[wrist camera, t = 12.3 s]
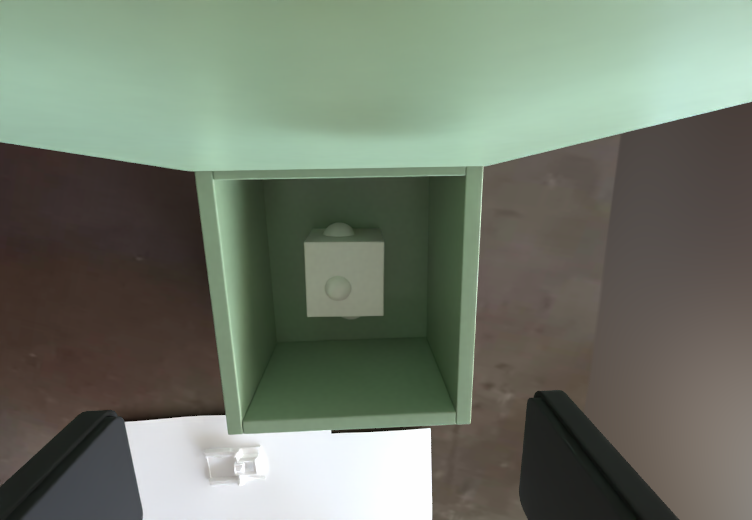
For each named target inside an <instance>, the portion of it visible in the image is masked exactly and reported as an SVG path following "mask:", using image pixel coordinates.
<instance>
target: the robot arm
mask: <svg viewBox="0 0 752 520" xmlns="http://www.w3.org/2000/svg"><path fill="white" fill-rule="evenodd" d="M519 496H520V501H521V505H522V508H523V510H524V512H525V514H526V516H527V518H528V520H679V519H678V518H677V517H676V516H675V515H674V513H673V512H672V511H671V510H670V509H669V508H668V507H667V506H666V504H665V503H664V502H663V501H662V500H661V499H660V498H659V497H658V496H657V494H656V493H655V492H654V491H653V490H652V489H651V488H650V487H649V486H648V484H647V483H646V482H645V481H644V480H643V479H642V478H641V477H640V476H639V475H638V473H637V472H636V471H635V470H634V469H633V468H632V467H631V466H630V464H629V463H628V462H627V461H626V460H625V459H624V458H623V457H622V456H621V454H620V453H619V452H618V451H617V450H616V449H615V448H614V447H613V446H612V444H610V442H609V441H608V440H607V439H606V438H605V437H604V436H603V434H602V433H601V432H600V431H599V430H598V429H597V428H596V427H595V426H594V424H593V423H592V422H591V421H590V420H589V419H588V418H587V417H586V415H585V414H584V413H583V412H582V411H581V410H580V409H579V408H578V407H577V405H576V404H575V403H574V402H573V401H572V400H571V399H570V398H569V397H568V395H567V394H566V393H565V392H563V391H561V390H553V391H537V392H536V393H535V395H534V398H529V399H528V402H527V410H526V421H525V432H524V443H523V454H522V464H521V475H520V486H519ZM142 519H143V509H142V504H141V499H140V495H139V490H138V485H137V480H136V475H135V470H134V466H133V461H132V456H131V451H130V446H129V441H128V437H127V432H126V427H125V422H124V419H123V418H122V417H118V416H117V414H116V413H115V411H112V410H103V411H86V412H82V413H81V414H79V415H78V416H77V417H76V418H75V419H74V420H73V421H71V422H70V423H69V424H68V425H67V426H66V427H65V428H64V429H63V430H62V431H61V432H60V433H58V434H57V435H56V436H55V437H54V438H53V439H52V440H51V441H50V442H49V443H48V444H46V445H45V446H44V447H43V448H42V449H41V450H40V451H39V452H38V453H37V454H36V455H35V456H33V457H32V458H31V459H30V460H29V461H28V462H27V463H26V464H25V465H24V466H23V467H21V468H20V469H19V470H18V471H17V472H16V473H15V474H14V475H13V476H12V477H11V478H9V479H8V480H7V481H6V482H5V483H4V484H3V485H2V486H1V487H0V520H142Z"/></svg>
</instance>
